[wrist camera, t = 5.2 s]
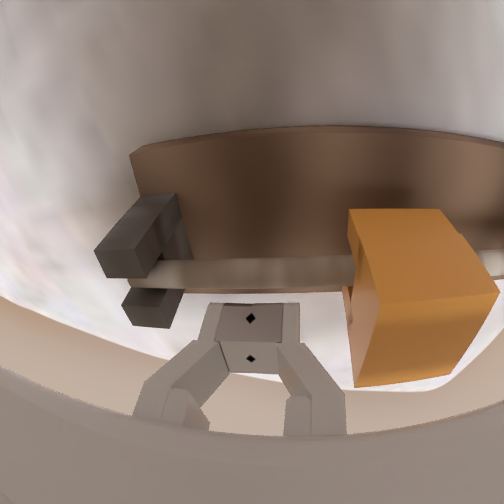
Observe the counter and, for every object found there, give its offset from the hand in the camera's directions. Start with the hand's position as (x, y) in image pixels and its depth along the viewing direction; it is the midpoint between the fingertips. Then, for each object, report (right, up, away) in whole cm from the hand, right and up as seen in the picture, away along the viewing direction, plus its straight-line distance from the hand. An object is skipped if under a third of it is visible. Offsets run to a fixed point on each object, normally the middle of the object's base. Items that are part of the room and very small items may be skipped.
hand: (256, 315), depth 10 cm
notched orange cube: (+6, +2, +2) cm, 6 cm away
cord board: (+6, +4, +5) cm, 9 cm away
